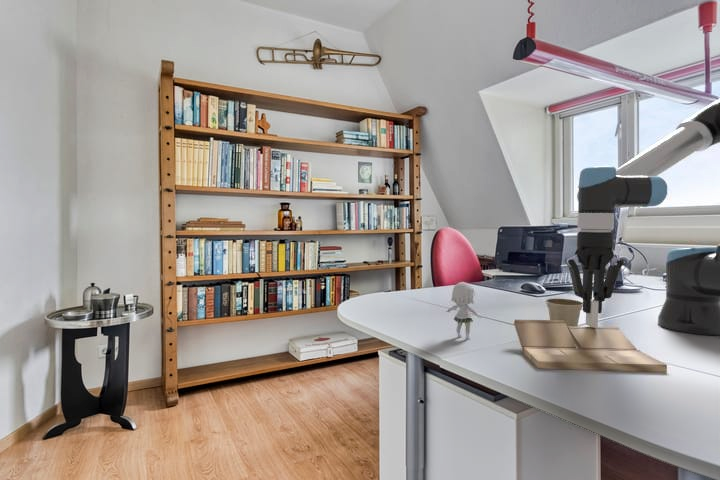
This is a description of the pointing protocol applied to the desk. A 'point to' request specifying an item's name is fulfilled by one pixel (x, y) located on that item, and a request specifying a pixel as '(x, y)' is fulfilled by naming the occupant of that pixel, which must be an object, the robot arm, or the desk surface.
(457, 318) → the figurine
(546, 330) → the plank
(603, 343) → the plank
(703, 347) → the desk surface
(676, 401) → the desk surface
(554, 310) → the flower pot
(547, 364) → the floor strip
